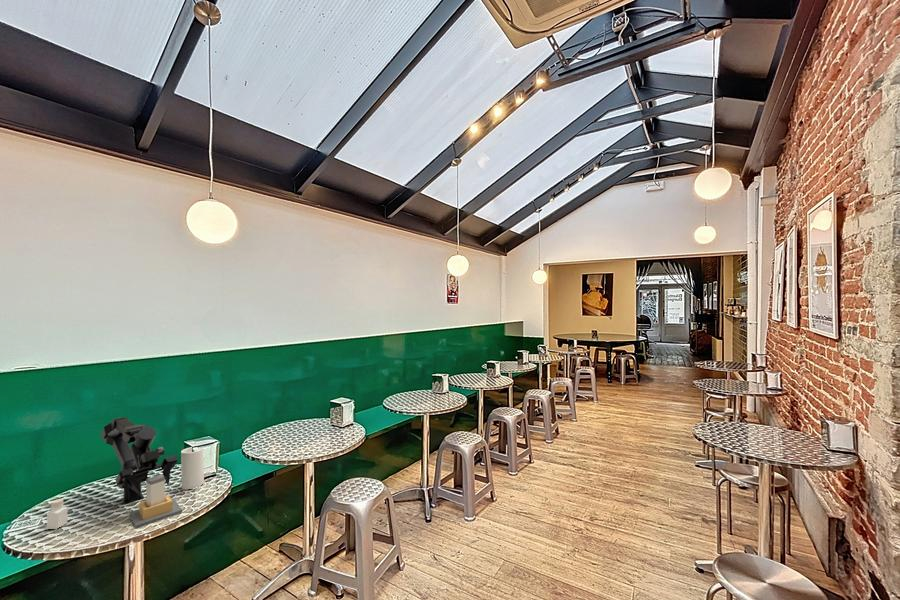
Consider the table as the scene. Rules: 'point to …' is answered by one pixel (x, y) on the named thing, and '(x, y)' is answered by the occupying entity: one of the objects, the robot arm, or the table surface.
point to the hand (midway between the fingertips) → (154, 488)
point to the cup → (192, 468)
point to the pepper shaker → (56, 515)
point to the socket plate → (154, 512)
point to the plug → (155, 490)
